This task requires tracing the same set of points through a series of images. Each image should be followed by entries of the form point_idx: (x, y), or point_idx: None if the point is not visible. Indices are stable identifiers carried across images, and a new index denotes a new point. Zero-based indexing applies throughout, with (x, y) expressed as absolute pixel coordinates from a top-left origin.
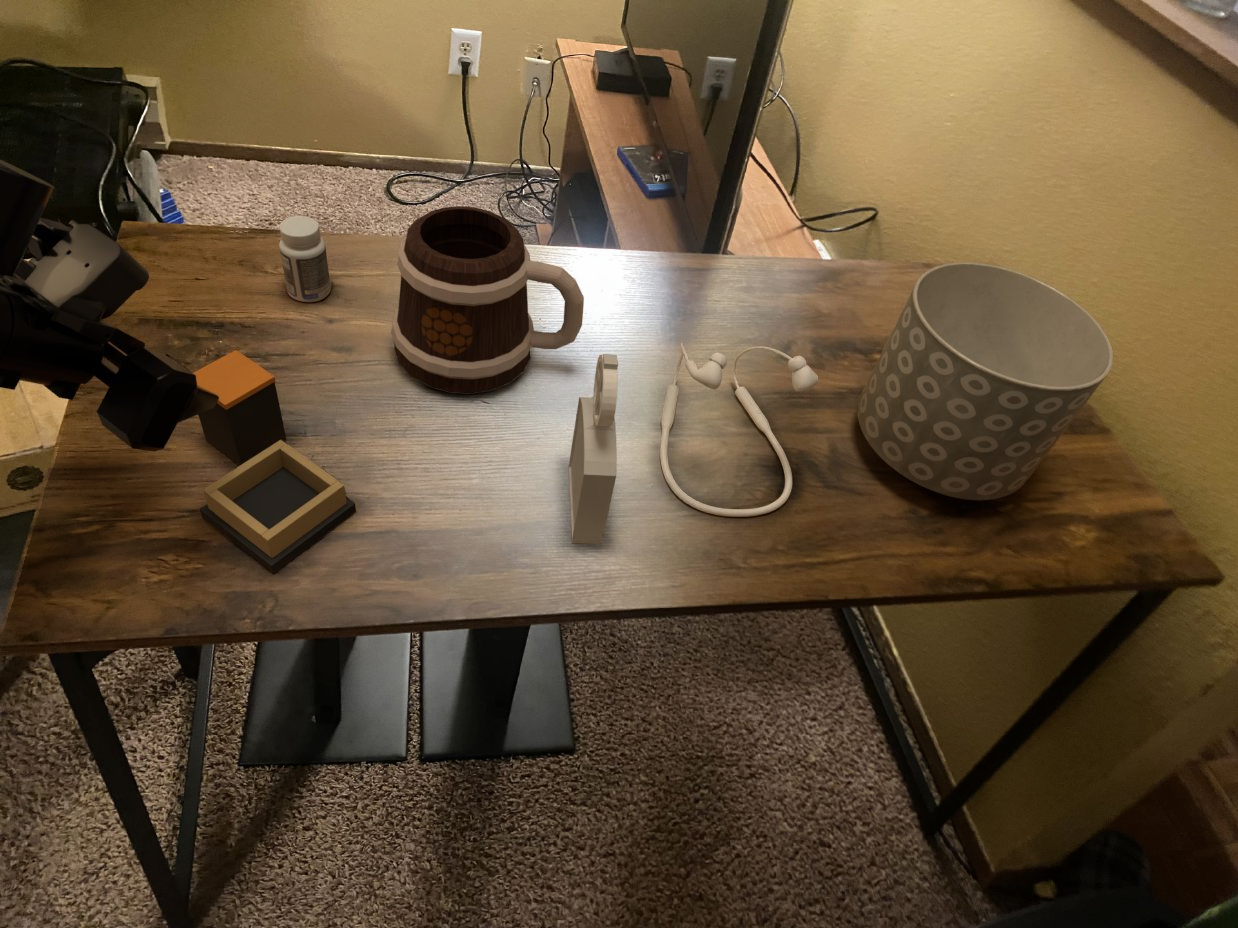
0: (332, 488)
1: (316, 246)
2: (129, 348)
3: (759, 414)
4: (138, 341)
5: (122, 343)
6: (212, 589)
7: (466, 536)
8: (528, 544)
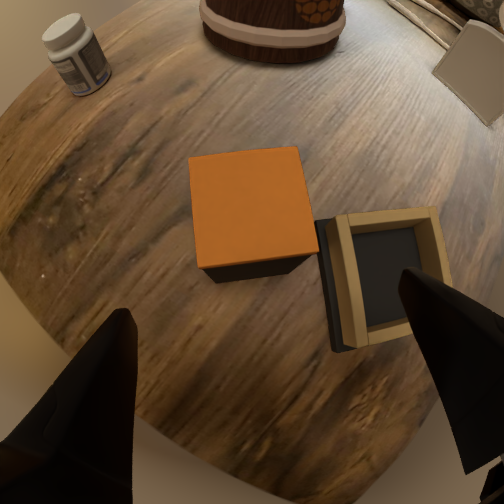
0: (435, 218)
1: (86, 29)
2: (129, 351)
3: (429, 4)
4: (123, 323)
5: (120, 367)
6: (413, 379)
7: (466, 166)
8: (482, 144)
